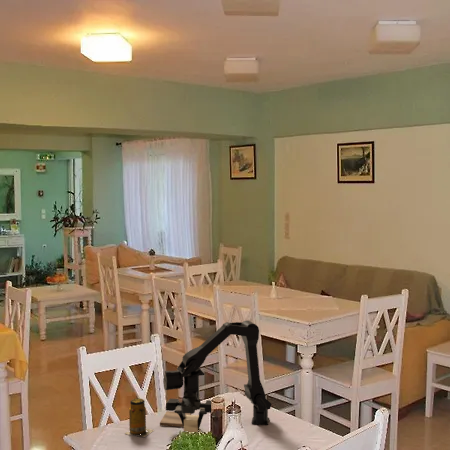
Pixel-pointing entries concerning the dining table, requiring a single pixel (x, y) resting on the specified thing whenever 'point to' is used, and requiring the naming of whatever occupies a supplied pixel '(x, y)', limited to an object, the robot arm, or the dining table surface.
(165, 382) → the robot arm
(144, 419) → the condiment
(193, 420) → the maple cube
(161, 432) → the dining table surface
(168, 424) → the serving board
